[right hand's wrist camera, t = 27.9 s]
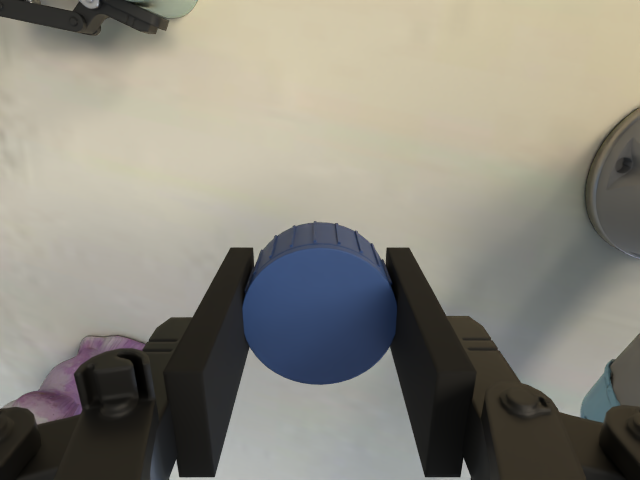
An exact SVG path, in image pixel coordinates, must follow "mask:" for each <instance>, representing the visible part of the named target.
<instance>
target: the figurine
mask: <svg viewBox="0 0 640 480" xmlns="http://www.w3.org/2000/svg"><path fill="white" fill-rule="evenodd" d="M145 345H146V344H143V343H140V342H138V341H135V340H132V339H129V338H125V337H120V336H118V335H117V336H109V337H105V338H104V337H95V336H87V337H85V338H84V339H83V340H82V341H81V344H80V348H79V351H78V354H77V356H76V357H74V358H72V359H69V360H67V361H64V362H62V363H60V364H58V365H57V366H56V367H54V368H53V369H52V370H51V372H50V373H49V374H48V376H47V377H46V378H45V380H44V382H43V384H42V385H41V387H40V389H39V390H38V391H33V392H29V393H27V394H25V395H22V396H21V397H20V398H18V399H17V400H14V401H12V402H10V403H8V404H7V405H5V406H4V407H3V408H10V407H21V408H27V409H29V410H30V411H31V412H32V413H33V414H34V416H35V420H36V423H37V424H41V423H46V422H50V421H55V420H59V419H64V418H68V417H72V416H75V415H78V414H81V411H82V406H81V402H80V398H79V394H78V390H77V386H76V382H75V378H74V373H75V371H76V370H77V369H78V368H79V366H80V365H81V364H83V363H84V362H86V361H87V360H88V359H90V358H91V357H94V356H96V355H98V354H101V353H103V352H105V351H110V350H114V349H119V348H134V349H138V350H141V351H142V349H143V348H144V346H145Z"/></svg>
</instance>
